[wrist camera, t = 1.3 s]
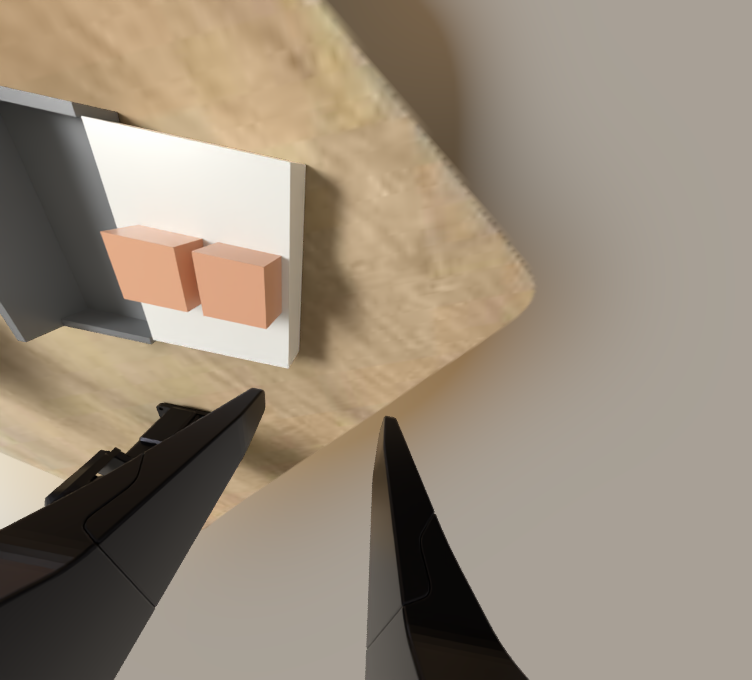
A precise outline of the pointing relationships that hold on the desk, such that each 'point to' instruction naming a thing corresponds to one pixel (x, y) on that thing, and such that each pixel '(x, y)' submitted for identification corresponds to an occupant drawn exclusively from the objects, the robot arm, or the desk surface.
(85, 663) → the robot arm
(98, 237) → the tray
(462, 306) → the desk surface
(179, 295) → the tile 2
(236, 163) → the board
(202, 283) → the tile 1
